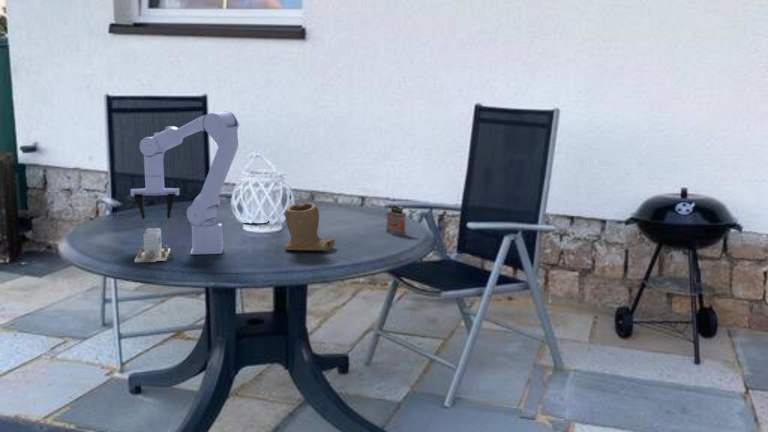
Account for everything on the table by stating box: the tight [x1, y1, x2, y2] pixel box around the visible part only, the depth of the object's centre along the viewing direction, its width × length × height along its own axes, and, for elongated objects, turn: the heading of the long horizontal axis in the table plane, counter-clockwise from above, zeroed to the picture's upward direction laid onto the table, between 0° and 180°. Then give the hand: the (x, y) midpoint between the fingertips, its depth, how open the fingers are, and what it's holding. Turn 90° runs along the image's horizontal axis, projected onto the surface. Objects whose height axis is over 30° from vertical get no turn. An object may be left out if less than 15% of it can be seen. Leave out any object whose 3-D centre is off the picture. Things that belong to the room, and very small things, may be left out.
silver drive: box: [143, 228, 163, 257], centre depth 239 cm, size 4×8×7 cm, turn 9°
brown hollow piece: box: [284, 202, 336, 252], centre depth 248 cm, size 15×12×15 cm
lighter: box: [385, 203, 407, 236], centre depth 275 cm, size 8×3×10 cm, turn 47°
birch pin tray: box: [133, 245, 172, 263], centre depth 239 cm, size 9×14×2 cm, turn 9°
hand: (156, 217), depth 249 cm, fingers open, 7 cm apart
